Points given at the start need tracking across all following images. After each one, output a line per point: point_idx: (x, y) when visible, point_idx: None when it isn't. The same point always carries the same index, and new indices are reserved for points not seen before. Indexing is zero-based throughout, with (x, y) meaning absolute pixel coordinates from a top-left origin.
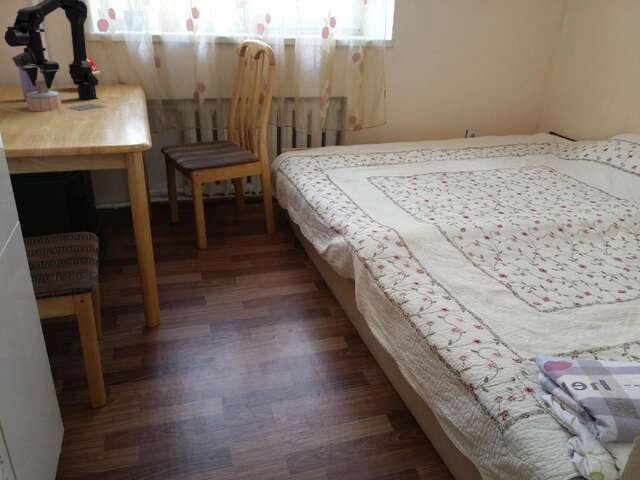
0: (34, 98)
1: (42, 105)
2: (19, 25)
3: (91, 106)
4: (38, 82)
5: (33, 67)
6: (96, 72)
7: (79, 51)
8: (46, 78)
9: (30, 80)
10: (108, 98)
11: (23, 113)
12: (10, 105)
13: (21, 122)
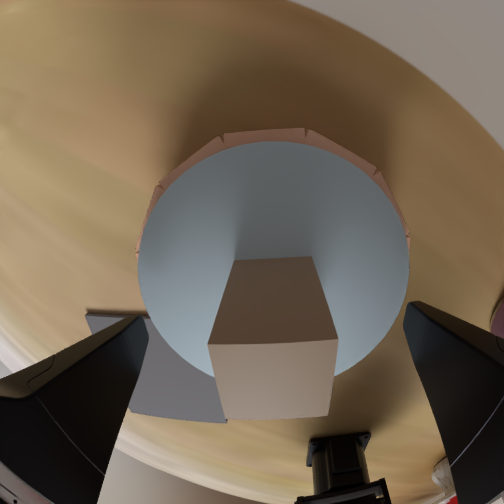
0: (197, 155)
1: None
2: None
3: (161, 396)
4: (242, 328)
5: (496, 496)
6: None
7: None
8: (33, 368)
9: (465, 321)
10: (300, 475)
11: (222, 67)
12: (496, 168)
13: (43, 24)
